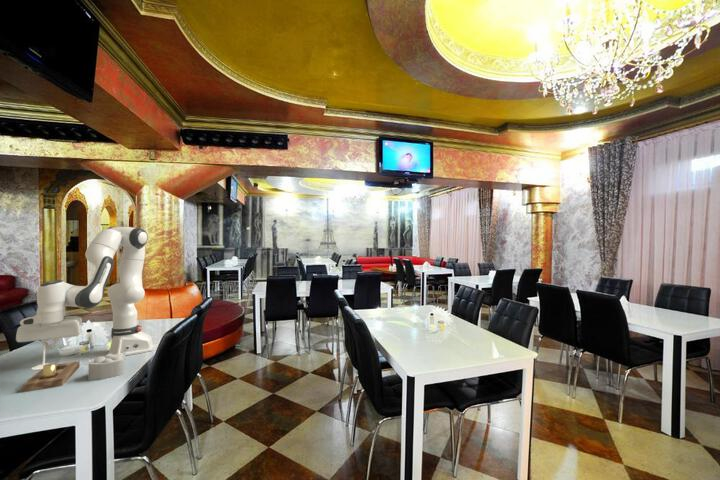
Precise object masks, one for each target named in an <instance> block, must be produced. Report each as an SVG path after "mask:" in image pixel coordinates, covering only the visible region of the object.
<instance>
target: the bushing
mask: <svg viewBox="0 0 720 480" xmlns="http://www.w3.org/2000/svg"><path fill="white" fill-rule="evenodd" d="M49 363H50V364H46V363H45V364H46V365H44V366H43V379H48V378H54V377H56V364H57V362H49Z"/></svg>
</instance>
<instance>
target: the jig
mask: <svg viewBox="0 0 720 480" xmlns="http://www.w3.org/2000/svg"><path fill="white" fill-rule="evenodd" d="M80 363H81V362H80V361H79V360H78V361H73V362H72V361H71V362H64V363H59V364H57V363H56V377H54V378H48V379H43V369H39V371H38V372H36V373H35V374H34V375H33V376H32V377H31V378H30V379H28V380H27V381H26V382H24V383H23V384H22V393H25V392H32V391H37V390H45V389H51V388H57V387H62V386H64V384H66V382H67V381H68V380H69V379H70V378H71V377H72V376H73V375H74V374H75V373H76V371H77V370H79V368H80Z"/></svg>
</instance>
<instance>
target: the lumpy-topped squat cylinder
mask: <svg viewBox="0 0 720 480" xmlns="http://www.w3.org/2000/svg"><path fill="white" fill-rule="evenodd" d="M125 366H126V356H125V355H122V354H115V355H113V354H108V353H107V354H105V355H103V356H98V357H96V358H95V359H92V360H91V361H89V362H88V371H87V372H88V373H87V374H88V375H87V379H88V381H89V380H90V381H102V380H107V378H108V379H111V378H112V379H113V378H116V376H117V377H120V376H123V375H124V374H125Z"/></svg>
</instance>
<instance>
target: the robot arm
mask: <svg viewBox="0 0 720 480" xmlns="http://www.w3.org/2000/svg"><path fill="white" fill-rule="evenodd" d="M148 240H149V234H148V233H147V231H146V230H145V229H143V228H139V227H132V226H109V227H107V228H105V229H102V230H100V232H99V233H98V234H97V235H96V236H95V237H94V238H93V239H92V241H91V242H90V244H89V245H88V246H87V248H86V251H85V253H84V255H85V259H86V260H87V261H88V262H89V263H91V264H92V265H94V266H95V270H94V273H93V274H92V278H91V279H90V281H89V283H88V284H87V285H85V286H84V285H75V284H70V283H67V282H65V281H64V280H62V279H54V280H48V281H45V282H43V283H41V284H40V285H39V287H38V289H37V294H36V304H37V309H36V314H35V315H32V316H29V317H26V318H23V319H21V320H20V321H19V325H20V326H18V328H17V330H16V335H15V341H16V342H17V343H26V342H34V341H35V342H36V341H38V340H41V341H40V343H41V344H42V346H43V345H44V346H45V351H47V350H54V349H55V348H56V345H57V342H58V341H60V339H65V338H74V337H79V335H81V334H82V331H83V330H82V324H83V318H82V317H81V316H80V315H66V307H71V308H72V307H74V308H75V307H76V308H83V309H93V308H95V307H97V306H98V305H100V303H101V302H102V301H103V299H104V295H105V294H104V293H105V288H106V286H107V284H108V281H109V278H110V276H111V274H112V271H113V268H114V264H115V260H114V256H115V255H116V253H117V251H118V249H119V247H123V250H122V252H121V256H120V261H119V266H118V270H117V273H118V275H119V282H117V283H114V284H111V286H110V287H108V289H107V296H108V298H109V302H110V306H111V310H112V328H111V331H110V334H111V336H110V337H111V342H110V347H109V351H108V353H107V354H113V355H115V354H122V355H125V357H126V356H132V355H138V354H142V353H147V352H152V351H154V350H156V349H157V347H158V344H157V343H156V342H153V337H152V336H151V335H150V334H148V333H146V332H144V331H142V325H139V324H138V310H137V309H136V306H135V304H136V303H139V302H141V301H142V300H143V299H144V298H145V296H146V292H145V289H144V287H143V285H144V284H143V269H144V264H145V260H146V259H145V258H146V244H147V242H148ZM48 339H49V340H52V342H53V343H52V344H49V343H48V342H47V341H49V340H48Z"/></svg>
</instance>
